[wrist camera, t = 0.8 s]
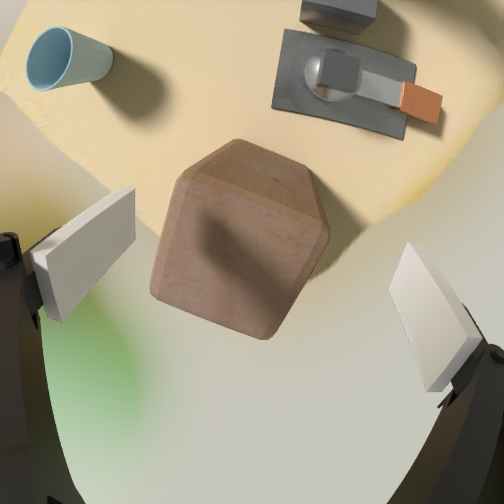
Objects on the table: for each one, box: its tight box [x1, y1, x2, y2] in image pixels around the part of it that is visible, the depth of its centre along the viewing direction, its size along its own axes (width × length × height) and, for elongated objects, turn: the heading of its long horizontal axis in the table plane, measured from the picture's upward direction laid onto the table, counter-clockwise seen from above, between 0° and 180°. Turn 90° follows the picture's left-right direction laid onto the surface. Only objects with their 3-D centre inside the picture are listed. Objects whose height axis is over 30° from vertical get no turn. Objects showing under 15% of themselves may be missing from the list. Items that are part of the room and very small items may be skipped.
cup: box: [26, 26, 113, 91], centre depth 26 cm, size 8×8×10 cm
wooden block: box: [150, 139, 330, 340], centre depth 28 cm, size 10×10×20 cm
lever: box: [271, 29, 443, 139], centre depth 26 cm, size 10×19×7 cm, turn 81°
